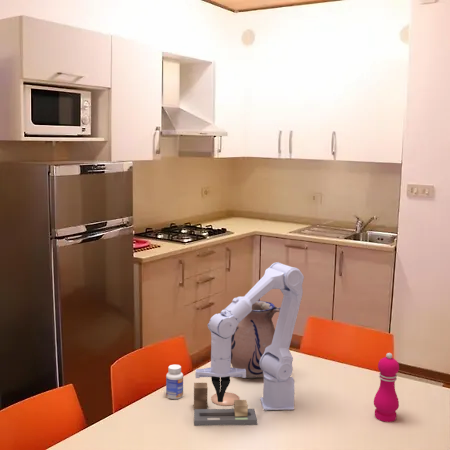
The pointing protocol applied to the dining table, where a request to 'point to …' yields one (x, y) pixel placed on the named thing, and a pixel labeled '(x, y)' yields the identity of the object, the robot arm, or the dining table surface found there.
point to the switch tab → (240, 408)
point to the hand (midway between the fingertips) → (220, 400)
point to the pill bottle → (174, 382)
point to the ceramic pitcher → (253, 338)
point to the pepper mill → (387, 390)
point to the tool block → (200, 395)
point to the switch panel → (223, 417)
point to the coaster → (225, 399)
